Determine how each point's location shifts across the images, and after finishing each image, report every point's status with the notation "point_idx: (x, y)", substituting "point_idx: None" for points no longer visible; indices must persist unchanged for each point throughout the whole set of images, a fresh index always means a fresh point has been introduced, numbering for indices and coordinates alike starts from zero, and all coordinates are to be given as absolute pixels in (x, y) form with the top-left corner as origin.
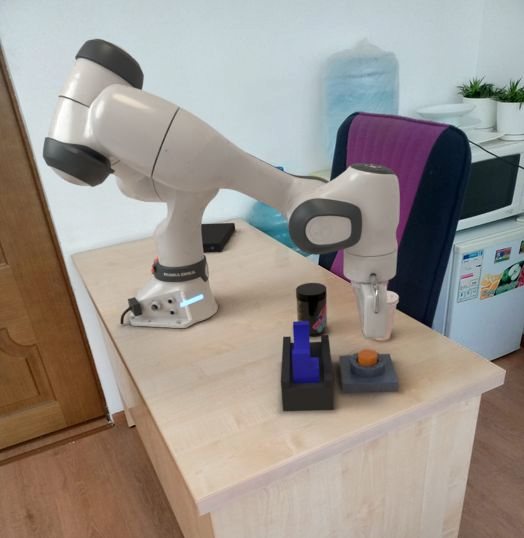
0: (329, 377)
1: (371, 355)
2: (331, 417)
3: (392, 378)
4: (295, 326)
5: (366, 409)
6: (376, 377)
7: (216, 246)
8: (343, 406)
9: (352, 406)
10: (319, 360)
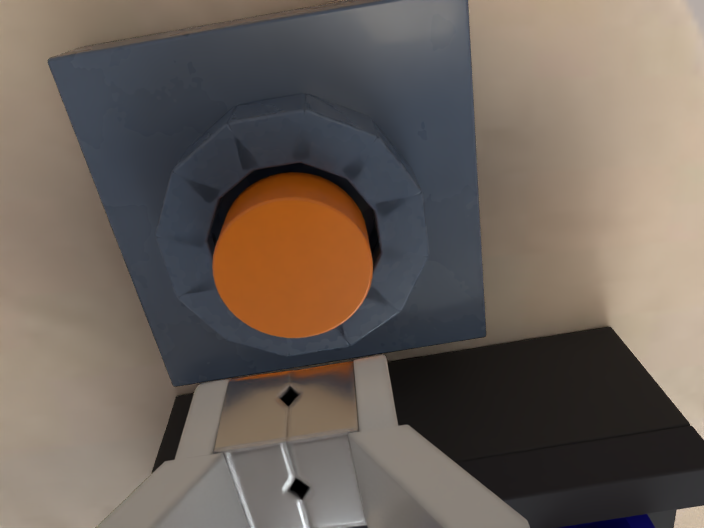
0: (691, 485)
1: (313, 244)
2: (663, 327)
3: (420, 34)
4: None
5: (619, 174)
6: (411, 152)
7: None
8: (582, 286)
9: (585, 245)
10: None
